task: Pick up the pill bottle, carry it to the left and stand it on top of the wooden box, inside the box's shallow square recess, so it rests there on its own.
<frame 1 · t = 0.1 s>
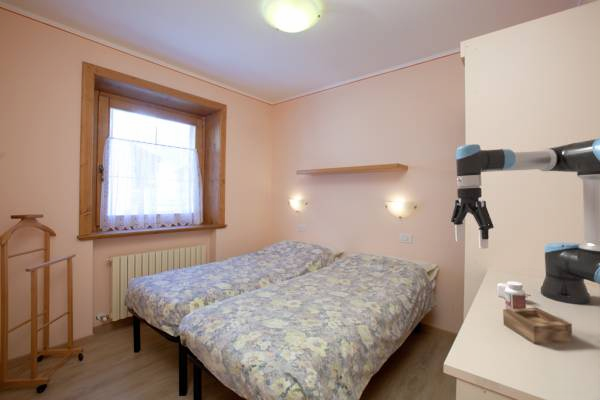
hand: (470, 244, 99), 28 cm above the table, fingers open, 13 cm apart
power adapter: (513, 300, 114), on the table
pill bottle: (515, 311, 103), on the table
wooden box: (535, 332, 88), on the table
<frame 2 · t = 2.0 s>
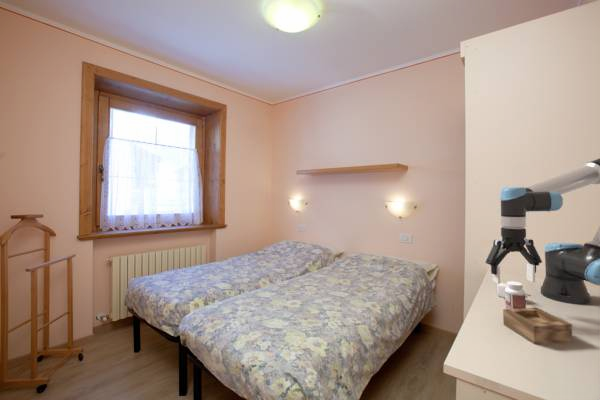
hand: (513, 281, 103), 12 cm above the table, fingers open, 13 cm apart
nothing on the table moved.
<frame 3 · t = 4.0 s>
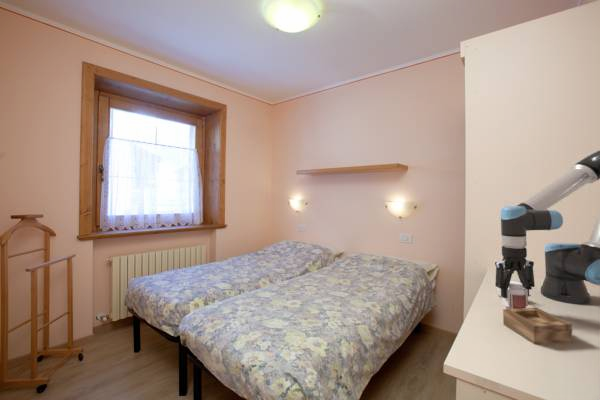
hand: (515, 305, 103), 2 cm above the table, fingers closed on pill bottle, 6 cm apart
pill bottle: (515, 311, 103), on the table, touching gripper
everything else where it was.
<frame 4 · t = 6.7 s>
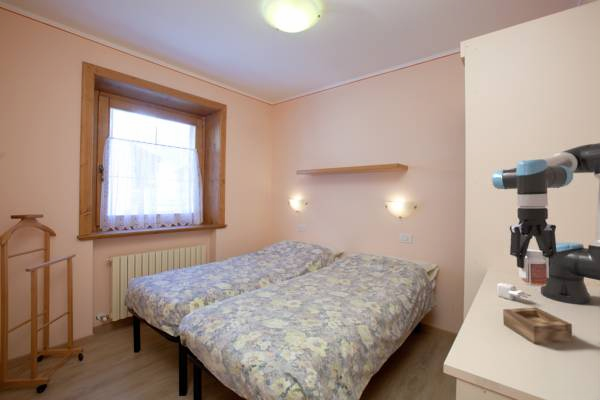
hand: (533, 276, 88), 19 cm above the table, fingers closed on pill bottle, 6 cm apart
pill bottle: (533, 284, 88), point 16 cm above the table, touching gripper
everything else where it was.
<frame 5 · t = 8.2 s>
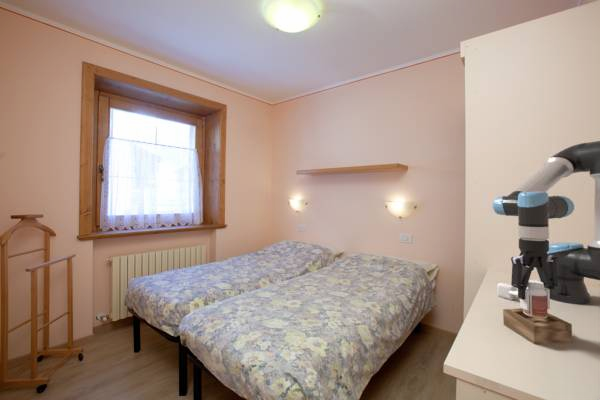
hand: (534, 307, 88), 8 cm above the table, fingers closed on pill bottle, 6 cm apart
pill bottle: (534, 315, 88), point 6 cm above the table, touching gripper
everything else where it was.
when the fingers open (7 cm above the table, at t = 9.7 s): pill bottle drops 1 cm, resting on wooden box.
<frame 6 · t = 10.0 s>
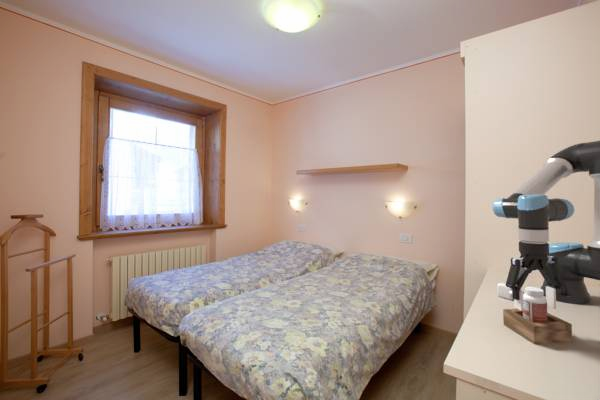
hand: (534, 308, 88), 8 cm above the table, fingers open, 10 cm apart
pill bottle: (534, 322, 88), point 3 cm above the table, touching wooden box
everything else where it was.
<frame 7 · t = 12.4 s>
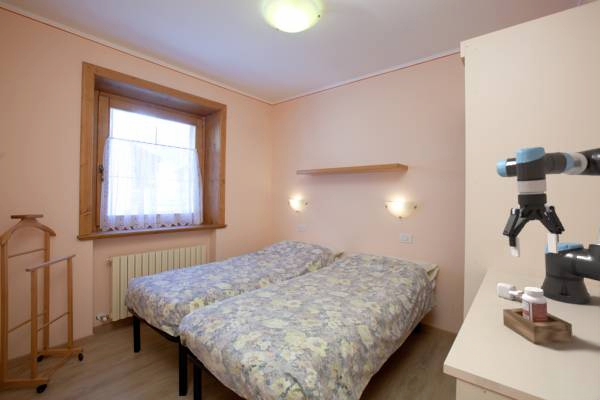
hand: (534, 254, 92), 25 cm above the table, fingers open, 13 cm apart
nothing on the table moved.
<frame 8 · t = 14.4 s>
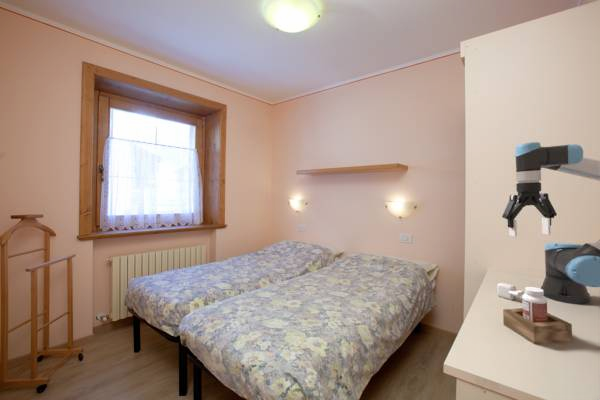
hand: (529, 235, 107), 29 cm above the table, fingers open, 13 cm apart
nothing on the table moved.
at the end: pill bottle inside the target area on the wooden box (0.1 cm from its centre), point 3.3 cm above the wooden box's base; pill bottle tilted 0°; the gripper is holding nothing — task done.
